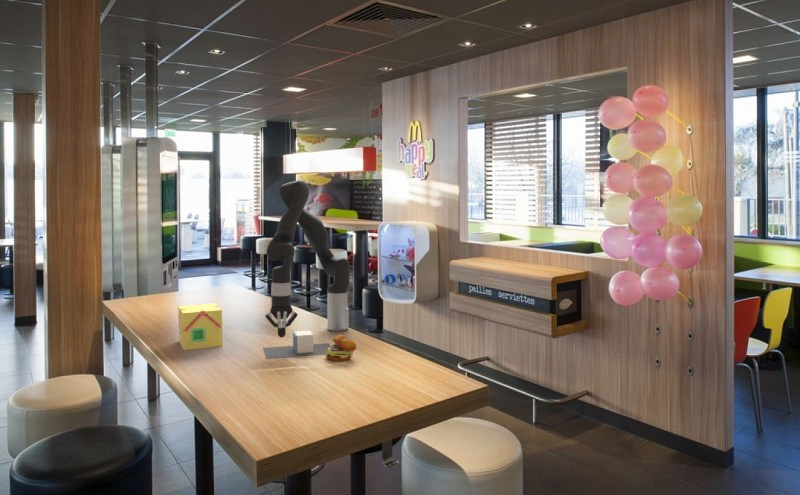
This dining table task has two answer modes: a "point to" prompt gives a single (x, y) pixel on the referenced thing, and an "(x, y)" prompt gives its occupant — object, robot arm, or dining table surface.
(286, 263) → the robot arm
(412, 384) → the dining table surface
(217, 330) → the toy block
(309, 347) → the cream cube
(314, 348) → the rubber mat
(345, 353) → the cheeseburger
